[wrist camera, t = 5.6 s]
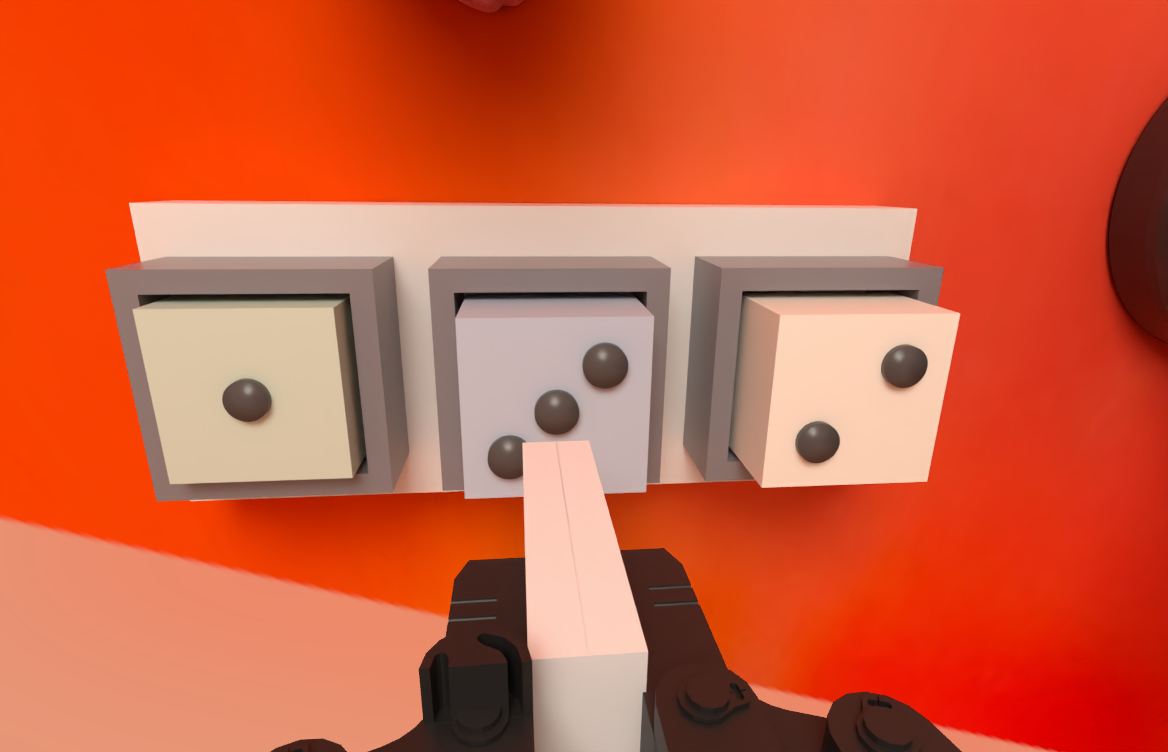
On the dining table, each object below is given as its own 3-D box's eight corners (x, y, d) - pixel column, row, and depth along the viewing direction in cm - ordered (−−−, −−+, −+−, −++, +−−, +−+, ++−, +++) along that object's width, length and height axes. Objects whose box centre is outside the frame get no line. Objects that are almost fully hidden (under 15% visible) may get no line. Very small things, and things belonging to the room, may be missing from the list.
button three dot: (631, 293, 23) (656, 318, 19) (626, 443, 24) (648, 496, 20) (466, 294, 22) (454, 320, 18) (473, 448, 24) (463, 503, 20)
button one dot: (363, 287, 23) (330, 309, 19) (378, 433, 25) (350, 481, 21) (197, 288, 23) (126, 311, 19) (224, 437, 25) (165, 488, 21)
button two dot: (889, 291, 24) (966, 315, 19) (866, 436, 25) (932, 485, 21) (737, 292, 23) (784, 317, 19) (724, 440, 25) (764, 491, 21)
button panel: (876, 205, 28) (978, 213, 22) (840, 449, 31) (918, 515, 25) (173, 200, 25) (59, 207, 19) (223, 469, 29) (141, 548, 22)
